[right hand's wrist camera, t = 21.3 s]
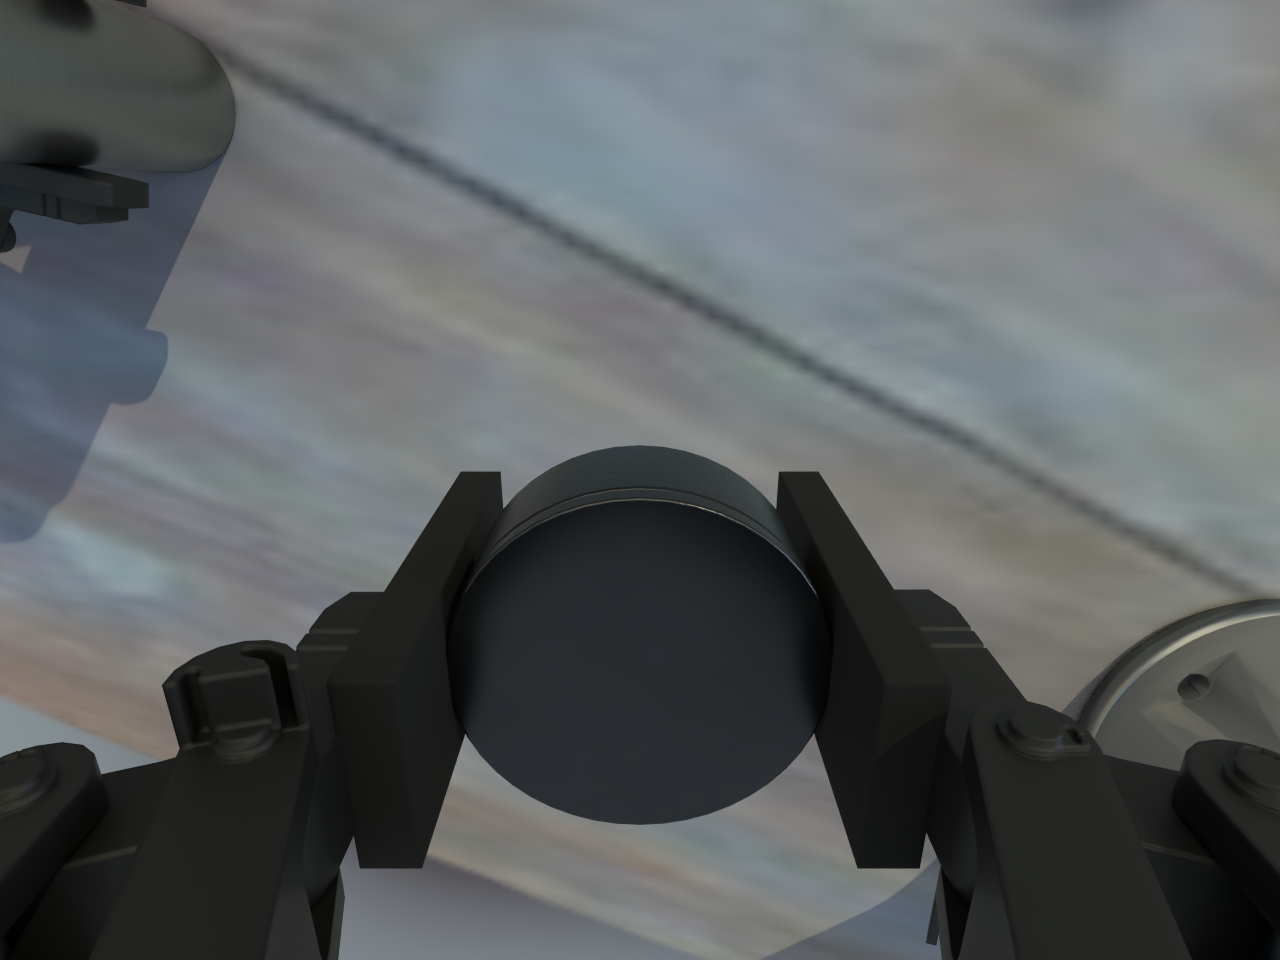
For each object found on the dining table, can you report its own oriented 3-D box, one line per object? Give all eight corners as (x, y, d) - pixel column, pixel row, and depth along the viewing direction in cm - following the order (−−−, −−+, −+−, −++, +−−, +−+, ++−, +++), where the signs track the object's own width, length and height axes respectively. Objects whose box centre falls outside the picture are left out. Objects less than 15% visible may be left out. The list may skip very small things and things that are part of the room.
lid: (843, 670, 13) (881, 760, 11) (560, 766, 14) (546, 866, 12) (736, 390, 11) (758, 434, 9) (417, 518, 12) (371, 585, 10)
